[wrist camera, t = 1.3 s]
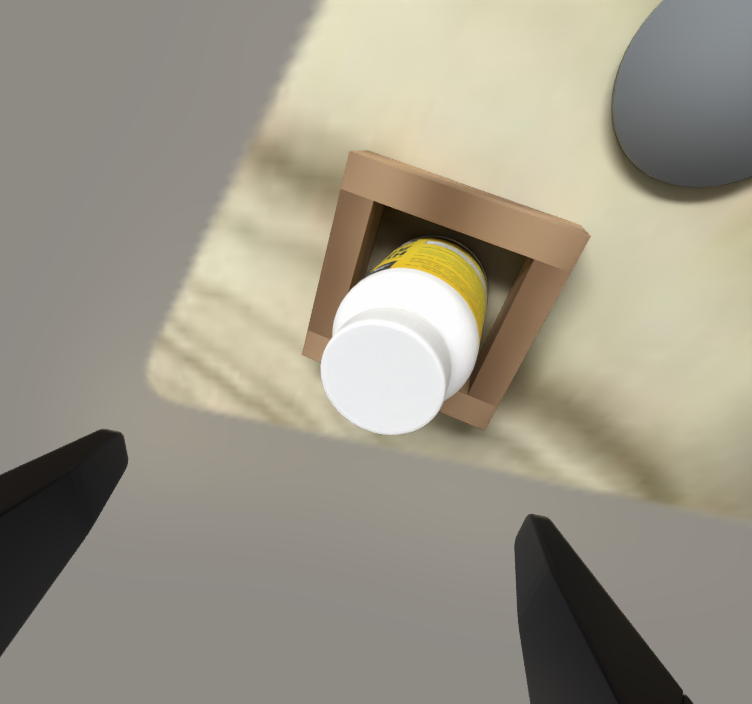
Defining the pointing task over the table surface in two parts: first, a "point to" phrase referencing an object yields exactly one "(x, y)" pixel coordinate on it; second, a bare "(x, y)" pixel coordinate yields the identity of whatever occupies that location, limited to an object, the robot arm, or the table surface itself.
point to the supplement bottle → (406, 336)
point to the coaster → (688, 93)
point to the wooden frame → (463, 214)
